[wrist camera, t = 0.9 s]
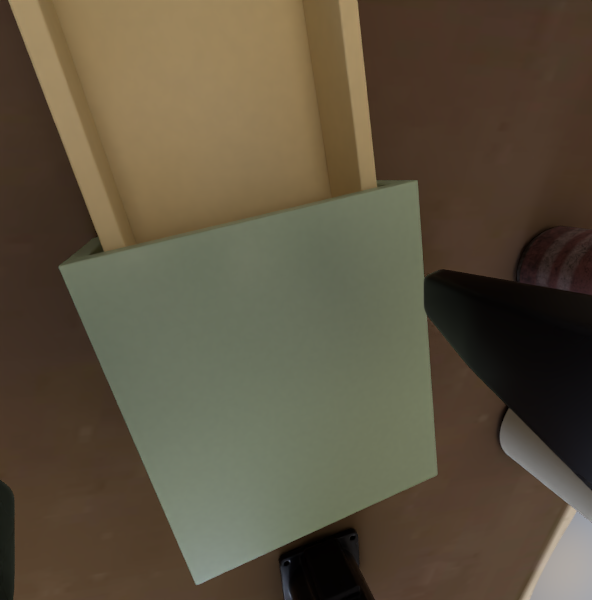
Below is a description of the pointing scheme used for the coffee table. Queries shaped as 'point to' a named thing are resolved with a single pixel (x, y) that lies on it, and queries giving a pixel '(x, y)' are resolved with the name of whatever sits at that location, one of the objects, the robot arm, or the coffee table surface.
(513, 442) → the travel mug
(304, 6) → the drawer
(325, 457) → the cabinet
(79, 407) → the coffee table surface
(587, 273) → the can
